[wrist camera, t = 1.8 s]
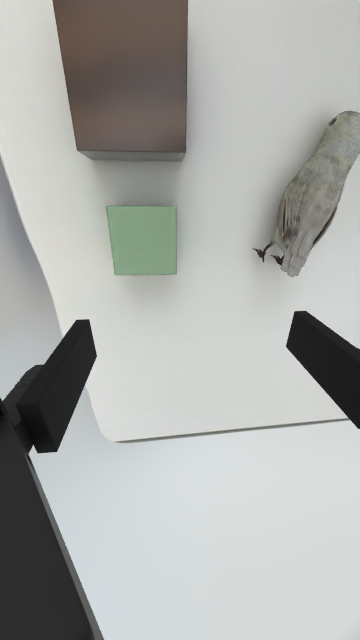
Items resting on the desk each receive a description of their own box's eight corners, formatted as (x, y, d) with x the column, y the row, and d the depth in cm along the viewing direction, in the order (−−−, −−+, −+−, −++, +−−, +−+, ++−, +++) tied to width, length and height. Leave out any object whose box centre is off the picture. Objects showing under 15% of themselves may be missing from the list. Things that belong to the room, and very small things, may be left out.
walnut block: (72, 26, 21) (48, -22, 16) (182, 32, 21) (188, -13, 17) (91, 159, 25) (76, 150, 21) (181, 161, 26) (186, 152, 21)
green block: (115, 205, 27) (105, 206, 23) (173, 205, 28) (176, 206, 23) (122, 264, 31) (114, 275, 26) (174, 263, 31) (176, 274, 26)
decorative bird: (352, 133, 26) (417, 109, 19) (279, 267, 32) (310, 283, 26) (313, 111, 25) (368, 77, 18) (246, 254, 31) (269, 268, 25)
